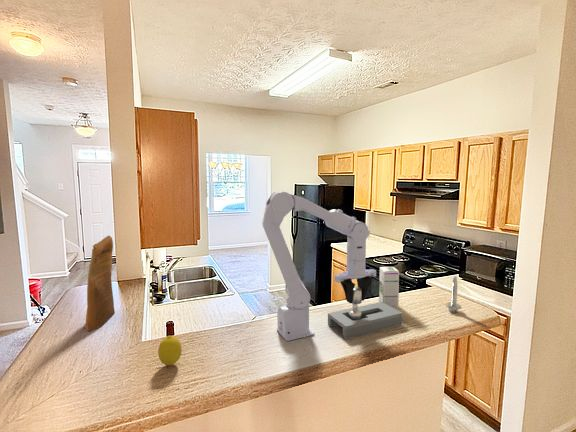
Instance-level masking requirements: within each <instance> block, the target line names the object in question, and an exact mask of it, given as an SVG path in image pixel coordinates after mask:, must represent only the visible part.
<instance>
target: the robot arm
mask: <svg viewBox="0 0 576 432" xmlns="http://www.w3.org/2000/svg"><path fill="white" fill-rule="evenodd" d="M264 209H265V210H264V214H263V218H262V227H263V229H264V232H265V235H266V237H267V240H268V243H269V244H270V245H269V246H270V247H271V250H272V252H273V255H274V258H275V260H276V262H277V265H278V267H279V270H280V273H281V275H282V277H283V280H284V284H285V293H286V295H287V299H286V301H285V304H284V305H282V306H279V307H278V308H277V314H276V315H277V319H276V320H277V327H276V330H277V332H278V333H279V334H280V335H281V336H282V338H283V339H284V340H285V341H287V342H289V341H293V340H297V339H302V338H306V337H310V336H314V335H315V332H314V331H313V330H312V329H311V328H310V302H311V294H310V292H309V291H308V289H307V288H306V286H305V283H304V282H303V281H302V280H301V278H300V275H299V273H298V270H297V268H296V265H295V263H294V259H293V258H292V255H291V253H290V250H289V248H288V245H287V243H286V239H285V237H284V234H283V232H282V229H281V224H282V222H283V221H284V219H285V217H287V215H288V214H289V213H290V212H291V211H293V212H300V211H303V212H306V213H307V214H310V215H312V216H314V217H317V218H319V219H321V220H322V221H324V224H325V226H326V227H327V228H330V229H332V230H334V231H335V232H336V231H337V232H339V233H340V234H342V235H346V236H347V237H346V238H347V242H346V271H343V272H341V273H337V274H334V282H335V283H338V284H339V283H340V285H341V287H342V288H343V292H344V295H345V299H346V302H347V303H349V304H352V301H353V290H354V287H356V283H357V287H360V288H362V302H364V301H365V298H366V296H367V295H366V294H367V291H368V290H369V287H370V285H371V284H372V283H373V279H372V278H370V277H377V270H376V269H374V268H369V269H366V258H367V257H366V255H367V254H366V253H367V250H366V249H367V244H366V243H367V239H368V237H369V236H370V233H371V231H370V230H369V227H368V226H367V223H364V222H363V221H359V220H357V217H356V216H350V215H347V214H346V213H344V211H343V210H342V209H339V208H338V209H336V208H335V209H330V210H327V209H326V208H323V207H322V206H320V205H317V204H316V203H315V202H312V201H310V200H308V199H306V198H305V197H302V196H298V195H295V194H292V193H289V192H287V191H283V190H276V191H274V192H273V193H271V195H270V196H269V197H268V199H267V201H266V203H265V208H264ZM352 280H356V283H354V282H353V281H352Z"/></svg>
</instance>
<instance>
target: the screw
mask: <svg viewBox="0 0 576 432" xmlns="http://www.w3.org/2000/svg"><path fill="white" fill-rule="evenodd" d="M458 285H459V284H458V277H457V276H453V278H452V283H451V294H450V295H451V296H450V297H451V298H450V299H451V300H450V302H447V303H446V304H445V307H446V308H448V311H449V312H450V313H452V314H453V313H454V314H457V313H458V312H459V311H458V310H462V306H461V305H460V304H459V303H457V302H458Z"/></svg>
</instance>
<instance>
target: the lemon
mask: <svg viewBox="0 0 576 432" xmlns="http://www.w3.org/2000/svg"><path fill="white" fill-rule="evenodd" d="M182 348H183V347H182V344H181V341H180V339H179V338H178V337H177V336H173V335H167V336H166V337H165V338H163V339H162V340H160V343H159V345H158V351H157V353H158V358H159V361H160V362H161V363H162V364H164V365H166V366H169V365H172V366H173V365H174V364H176V363H178V361H179V360H180V358H181V356H182Z"/></svg>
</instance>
